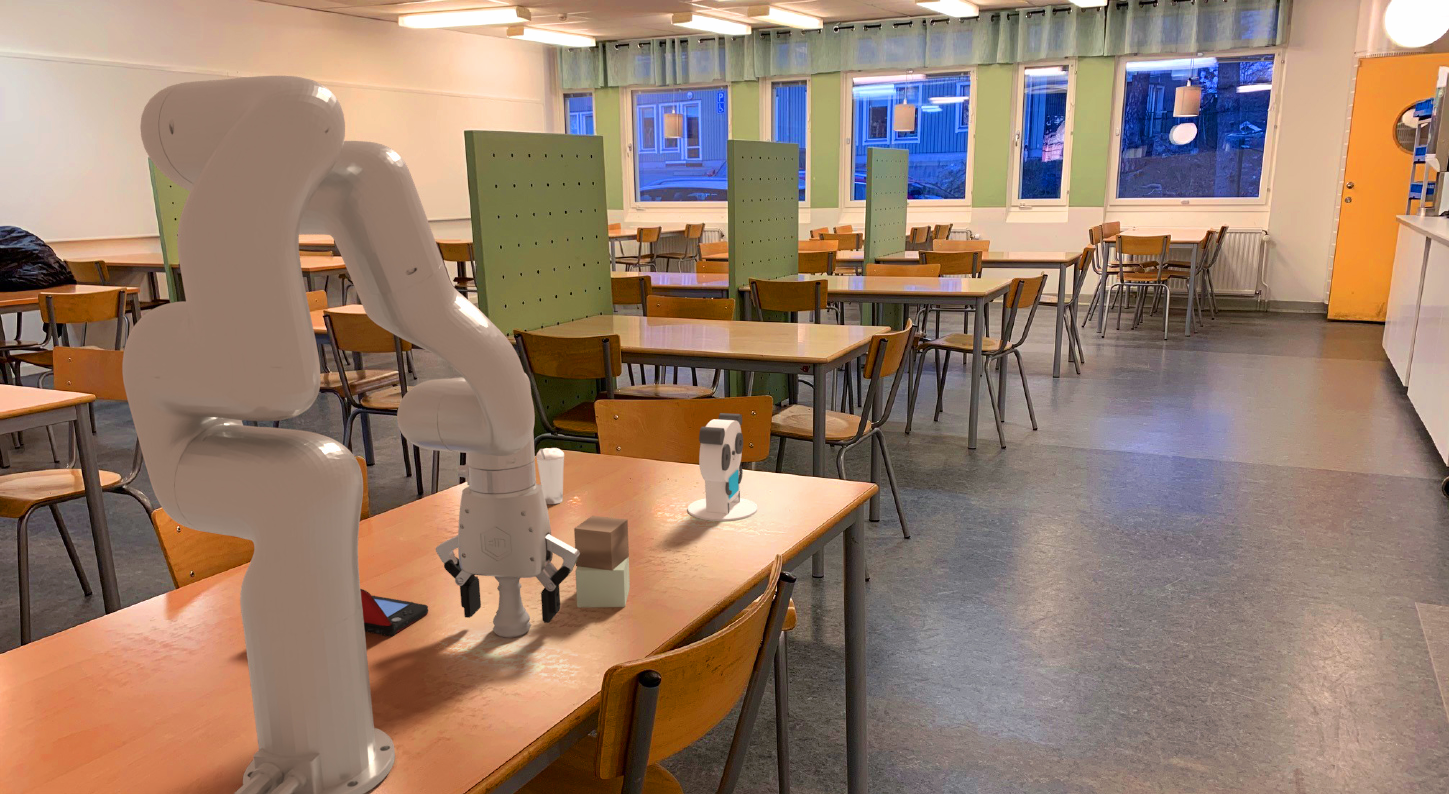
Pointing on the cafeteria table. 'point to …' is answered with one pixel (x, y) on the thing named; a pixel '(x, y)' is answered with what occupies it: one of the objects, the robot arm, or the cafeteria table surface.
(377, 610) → the handheld game console
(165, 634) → the cafeteria table surface
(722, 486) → the panda figurine
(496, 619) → the rook chess piece
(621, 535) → the top block
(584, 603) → the base block
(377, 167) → the robot arm
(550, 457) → the milkshake
